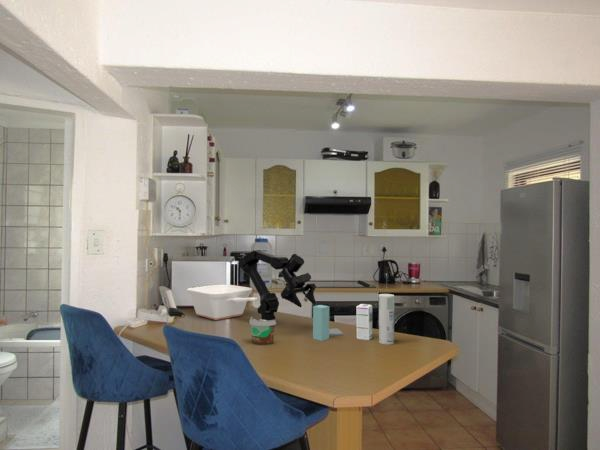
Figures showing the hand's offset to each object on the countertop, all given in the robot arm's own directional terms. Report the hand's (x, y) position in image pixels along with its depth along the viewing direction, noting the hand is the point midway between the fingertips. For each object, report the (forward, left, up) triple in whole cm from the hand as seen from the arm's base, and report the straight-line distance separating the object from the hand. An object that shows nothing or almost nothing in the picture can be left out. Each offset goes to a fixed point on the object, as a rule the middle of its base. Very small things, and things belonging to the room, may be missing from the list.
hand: (308, 305), depth 186 cm
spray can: (+31, -16, -14) cm, 37 cm away
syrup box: (+24, -8, -14) cm, 29 cm away
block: (+5, -6, -13) cm, 15 cm away
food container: (-22, -10, -14) cm, 28 cm away
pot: (-36, +41, -14) cm, 56 cm away
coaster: (+11, +3, -13) cm, 17 cm away
